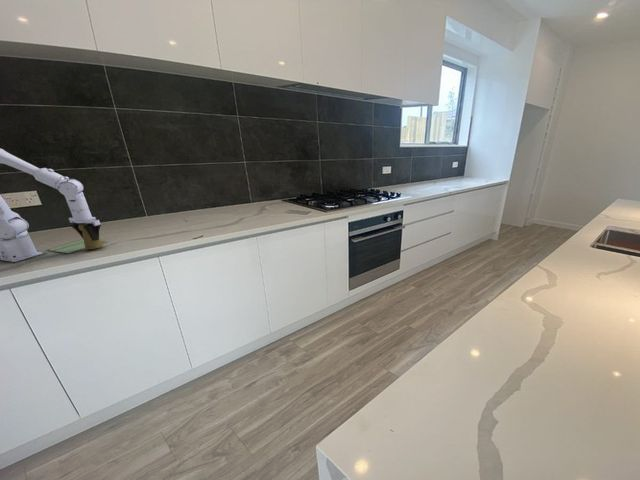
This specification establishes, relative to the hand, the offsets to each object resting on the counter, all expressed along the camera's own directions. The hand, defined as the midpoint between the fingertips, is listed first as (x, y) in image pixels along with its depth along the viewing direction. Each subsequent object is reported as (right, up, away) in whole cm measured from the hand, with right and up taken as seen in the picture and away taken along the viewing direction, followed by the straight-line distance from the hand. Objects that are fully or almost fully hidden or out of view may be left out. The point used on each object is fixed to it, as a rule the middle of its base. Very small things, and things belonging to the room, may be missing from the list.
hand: (91, 239), depth 131 cm
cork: (0, -3, +2) cm, 4 cm away
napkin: (-11, -3, +4) cm, 12 cm away
